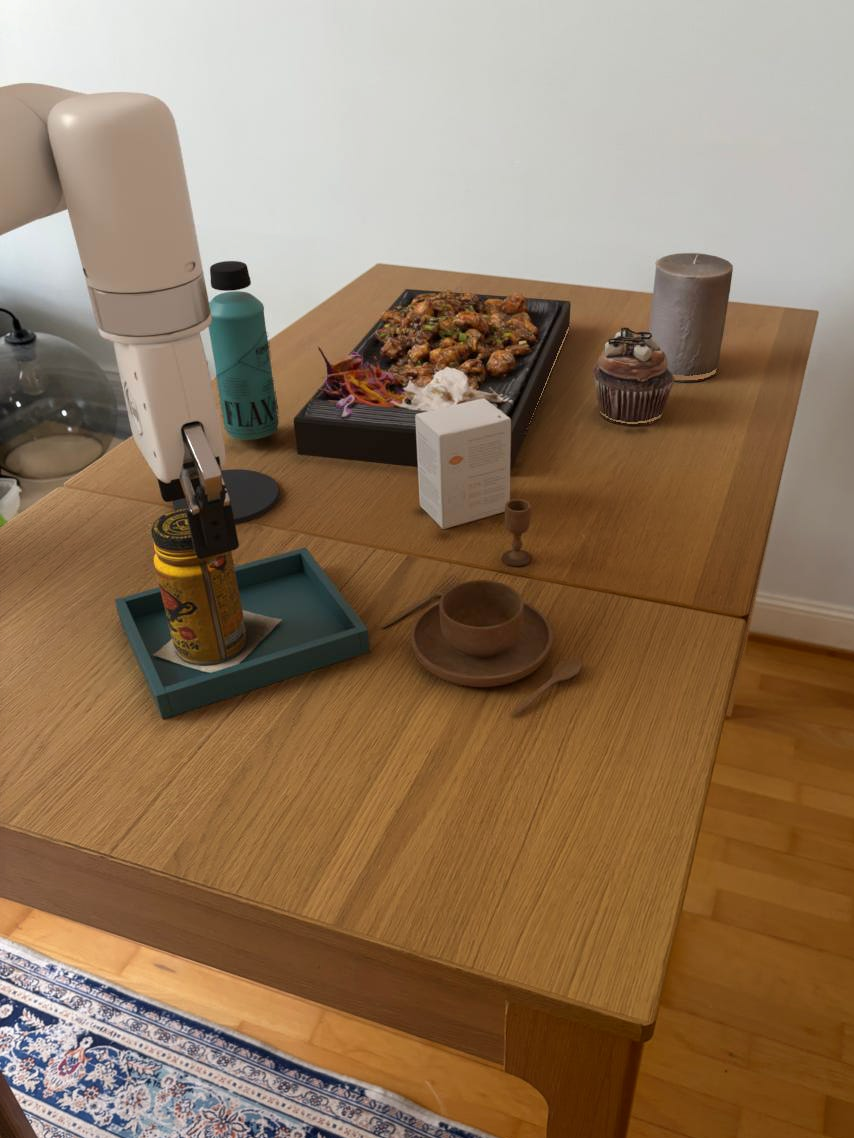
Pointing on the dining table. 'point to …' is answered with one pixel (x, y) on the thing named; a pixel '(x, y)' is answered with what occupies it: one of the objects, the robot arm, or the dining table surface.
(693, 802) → the dining table surface
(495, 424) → the small box
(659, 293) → the pillar candle
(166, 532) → the condiment
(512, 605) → the place setting
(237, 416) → the beverage bottle
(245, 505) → the mat
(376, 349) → the food platter
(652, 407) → the cupcake
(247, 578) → the tray
